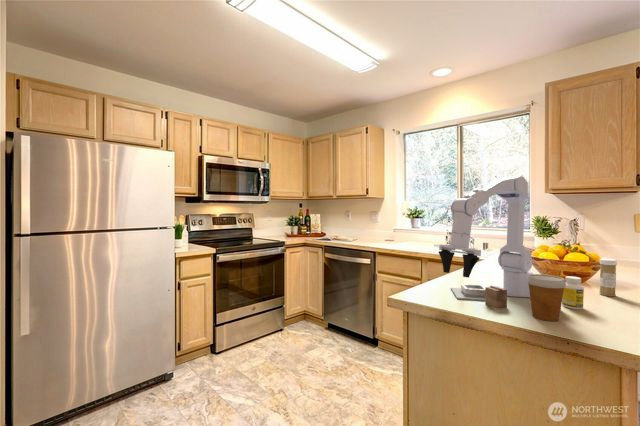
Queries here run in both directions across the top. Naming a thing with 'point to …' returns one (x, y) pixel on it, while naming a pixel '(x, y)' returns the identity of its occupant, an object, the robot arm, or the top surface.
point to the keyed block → (496, 297)
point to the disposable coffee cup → (546, 296)
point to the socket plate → (461, 296)
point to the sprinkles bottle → (607, 277)
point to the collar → (473, 290)
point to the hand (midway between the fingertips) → (455, 274)
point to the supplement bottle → (573, 293)
